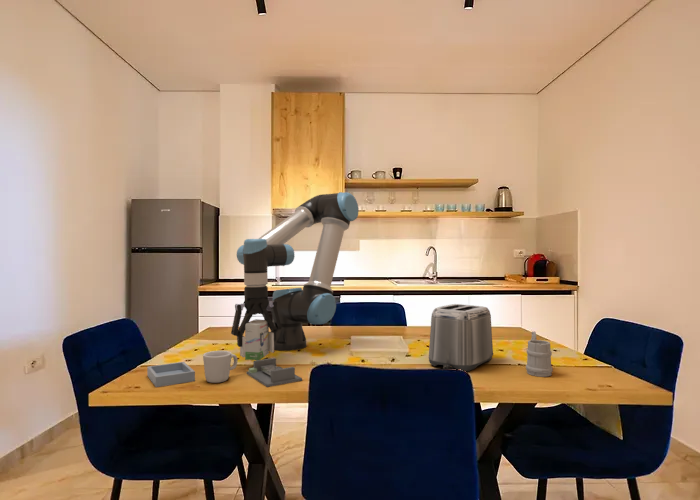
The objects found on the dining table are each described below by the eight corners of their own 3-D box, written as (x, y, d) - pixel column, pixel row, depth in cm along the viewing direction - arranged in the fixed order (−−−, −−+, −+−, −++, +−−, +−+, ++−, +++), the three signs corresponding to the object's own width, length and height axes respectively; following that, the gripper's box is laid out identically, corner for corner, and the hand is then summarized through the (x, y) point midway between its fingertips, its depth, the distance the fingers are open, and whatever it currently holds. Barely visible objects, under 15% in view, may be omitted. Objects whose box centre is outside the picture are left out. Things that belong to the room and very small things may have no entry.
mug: (529, 376, 132) (529, 337, 132) (519, 366, 144) (519, 330, 144) (556, 377, 131) (556, 337, 131) (544, 367, 143) (544, 330, 143)
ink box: (255, 353, 149) (254, 318, 149) (269, 354, 148) (269, 319, 148) (244, 360, 141) (243, 323, 140) (259, 360, 139) (258, 323, 139)
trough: (183, 370, 139) (183, 361, 139) (194, 381, 128) (194, 371, 128) (147, 375, 134) (147, 366, 134) (155, 387, 122) (155, 377, 122)
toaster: (500, 359, 154) (500, 305, 154) (463, 377, 131) (463, 314, 131) (456, 352, 165) (456, 301, 165) (415, 368, 142) (415, 309, 142)
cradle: (279, 368, 142) (279, 356, 142) (302, 380, 128) (302, 367, 128) (246, 373, 136) (246, 361, 136) (267, 387, 122) (267, 373, 122)
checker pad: (272, 368, 137) (272, 364, 137) (286, 375, 129) (286, 371, 129) (260, 370, 135) (260, 366, 135) (274, 377, 127) (274, 373, 127)
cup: (228, 373, 136) (228, 347, 136) (244, 378, 131) (244, 351, 131) (197, 381, 128) (197, 353, 128) (213, 386, 123) (213, 358, 123)
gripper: (281, 282, 153) (282, 346, 153) (219, 287, 141) (220, 356, 141) (291, 284, 147) (292, 351, 147) (226, 289, 135) (228, 361, 135)
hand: (257, 353), depth 144 cm, fingers closed on ink box, 9 cm apart
